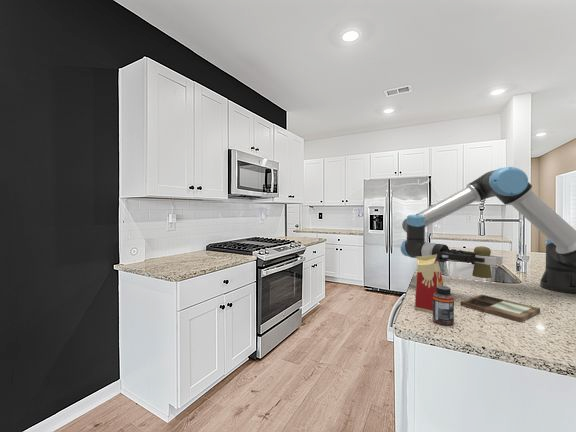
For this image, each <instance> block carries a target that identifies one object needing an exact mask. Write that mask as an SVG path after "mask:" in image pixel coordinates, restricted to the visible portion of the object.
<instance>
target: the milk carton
mask: <svg viewBox="0 0 576 432" xmlns="http://www.w3.org/2000/svg"><path fill="white" fill-rule="evenodd" d="M436 257H437V254H436V255H430V256H421V257H416V258H415V259H416V261H417V269H416V280H415V294H414V310H419V311H423V312H427V313H430V314H433V294H434V293H435V292H436V287H437V286H445V285H444V279H443V274H442V271H441V267H440V264H439V263H440V262H438V260H437V258H436Z"/></svg>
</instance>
